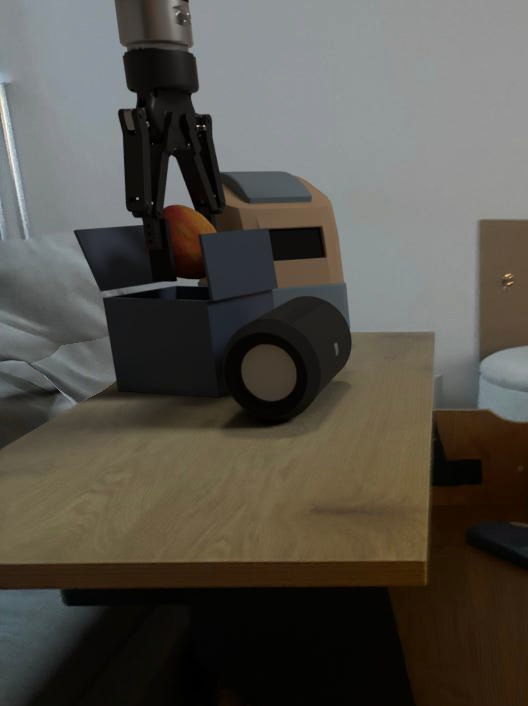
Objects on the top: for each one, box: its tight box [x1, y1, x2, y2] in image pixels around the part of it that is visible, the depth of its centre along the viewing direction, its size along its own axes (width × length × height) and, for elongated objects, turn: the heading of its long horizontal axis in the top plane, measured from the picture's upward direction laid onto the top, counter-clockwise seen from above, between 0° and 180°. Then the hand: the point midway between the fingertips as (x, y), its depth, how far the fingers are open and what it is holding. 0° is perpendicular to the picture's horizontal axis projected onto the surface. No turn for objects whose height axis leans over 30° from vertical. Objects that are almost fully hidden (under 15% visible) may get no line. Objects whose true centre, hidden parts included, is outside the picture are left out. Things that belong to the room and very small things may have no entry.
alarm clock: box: [197, 170, 351, 330], centre depth 132 cm, size 17×17×23 cm
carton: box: [102, 228, 278, 398], centre depth 116 cm, size 15×14×17 cm
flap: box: [73, 224, 161, 293], centre depth 116 cm, size 7×14×1 cm
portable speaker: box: [222, 296, 353, 422], centre depth 107 cm, size 26×10×10 cm, turn 178°
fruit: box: [145, 204, 217, 281], centre depth 113 cm, size 8×8×8 cm
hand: (188, 277), depth 114 cm, fingers closed on fruit, 8 cm apart
